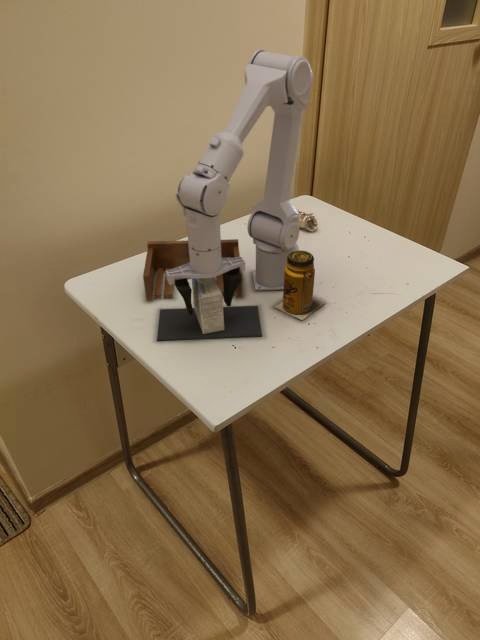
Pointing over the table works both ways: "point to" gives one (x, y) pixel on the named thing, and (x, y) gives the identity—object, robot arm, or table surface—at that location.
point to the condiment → (299, 286)
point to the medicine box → (208, 304)
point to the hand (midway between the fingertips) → (208, 307)
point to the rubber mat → (188, 328)
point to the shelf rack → (178, 264)
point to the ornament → (307, 221)
